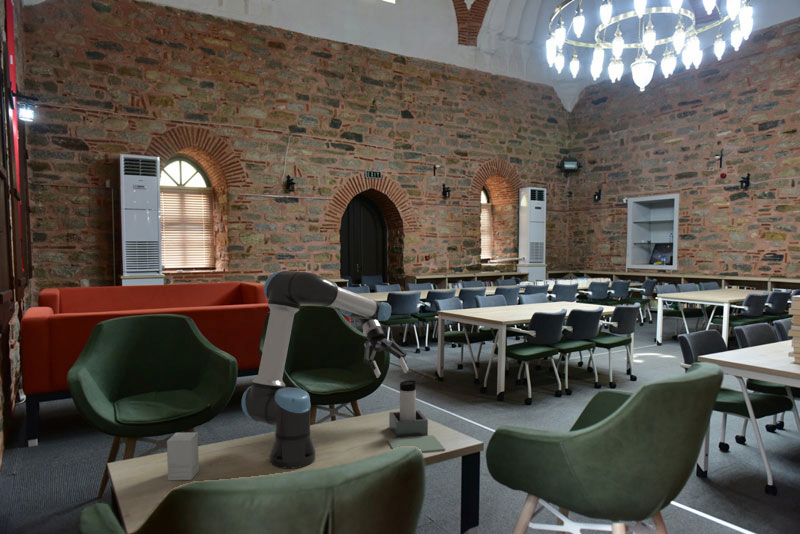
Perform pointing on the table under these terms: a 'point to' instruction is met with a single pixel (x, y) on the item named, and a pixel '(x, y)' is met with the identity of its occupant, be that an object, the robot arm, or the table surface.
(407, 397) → the travel mug
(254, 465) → the table surface
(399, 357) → the robot arm
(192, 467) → the supplement box
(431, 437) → the mat
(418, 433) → the sleeve
